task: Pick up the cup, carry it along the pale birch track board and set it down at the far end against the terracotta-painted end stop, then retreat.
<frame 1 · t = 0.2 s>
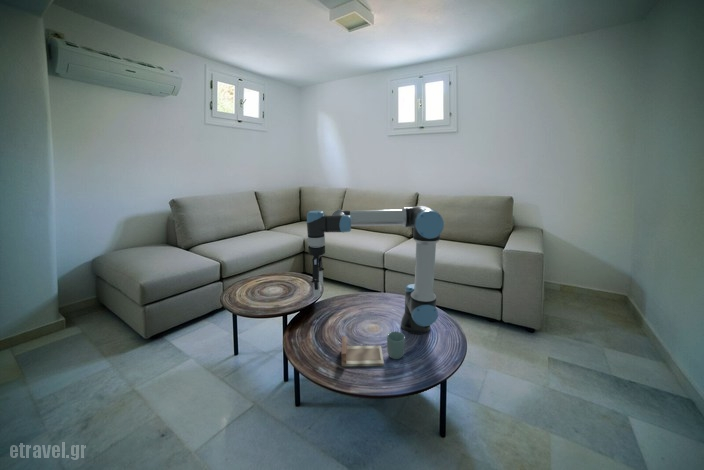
hand: (318, 289, 140), 28 cm above the table, fingers open, 13 cm apart
track: (362, 356, 135), on the table
cup: (395, 356, 135), on the table
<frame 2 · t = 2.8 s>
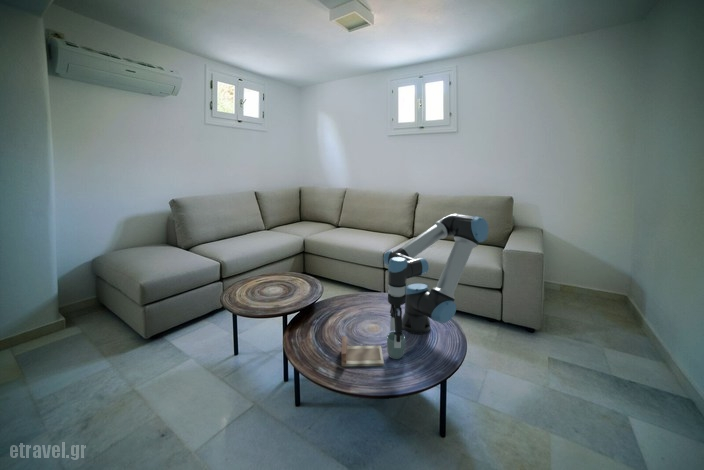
hand: (395, 338, 133), 9 cm above the table, fingers open, 13 cm apart
nothing on the table moved.
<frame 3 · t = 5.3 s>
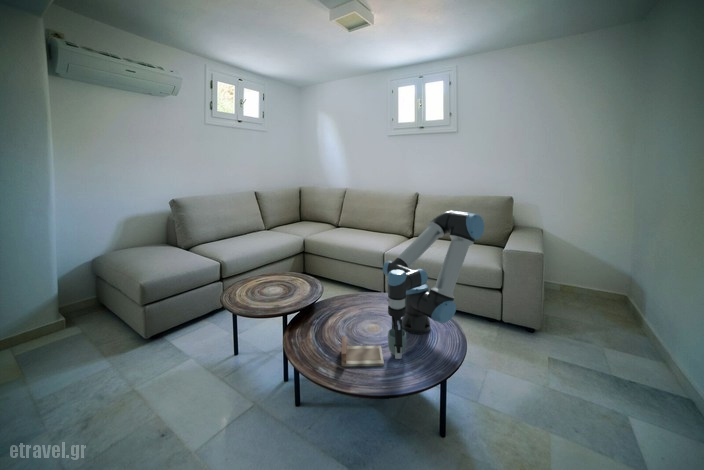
hand: (396, 351, 135), 2 cm above the table, fingers closed on cup, 8 cm apart
cup: (397, 352, 135), point 1 cm above the table, touching gripper
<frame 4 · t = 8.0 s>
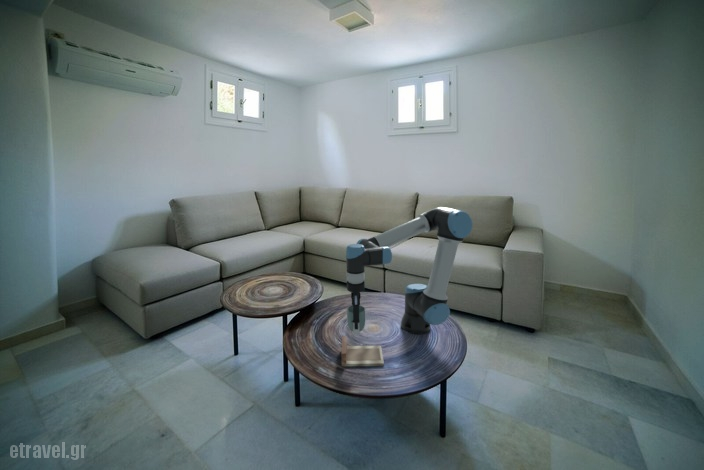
hand: (356, 329, 132), 14 cm above the table, fingers closed on cup, 8 cm apart
cup: (356, 330, 132), point 13 cm above the table, touching gripper
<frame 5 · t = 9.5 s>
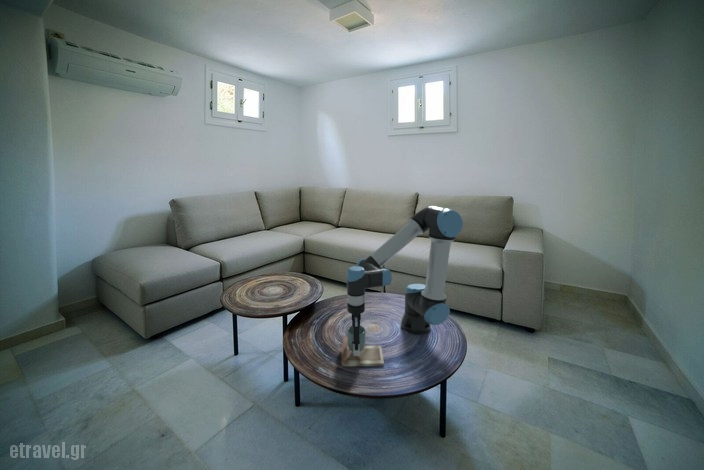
hand: (356, 349, 134), 4 cm above the table, fingers closed on cup, 8 cm apart
cup: (356, 350, 134), point 3 cm above the table, touching gripper
when the fingers open (2 cm above the table, at t = 10.7 s): cup stays where it is, resting on track.
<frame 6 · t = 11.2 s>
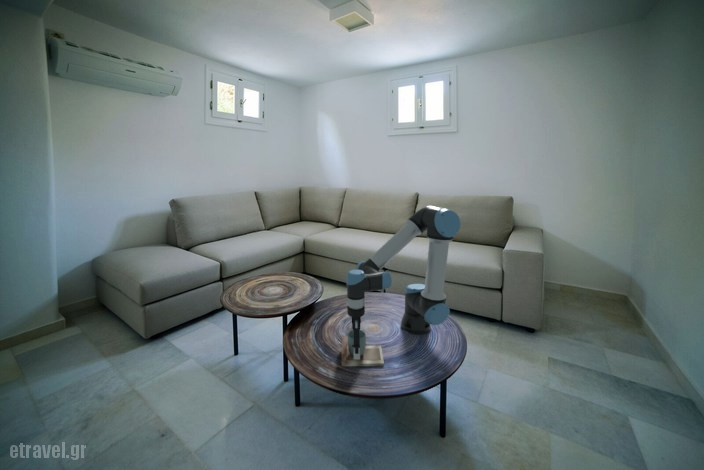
hand: (356, 349, 134), 4 cm above the table, fingers open, 13 cm apart
cup: (356, 354, 135), point 1 cm above the table, touching track
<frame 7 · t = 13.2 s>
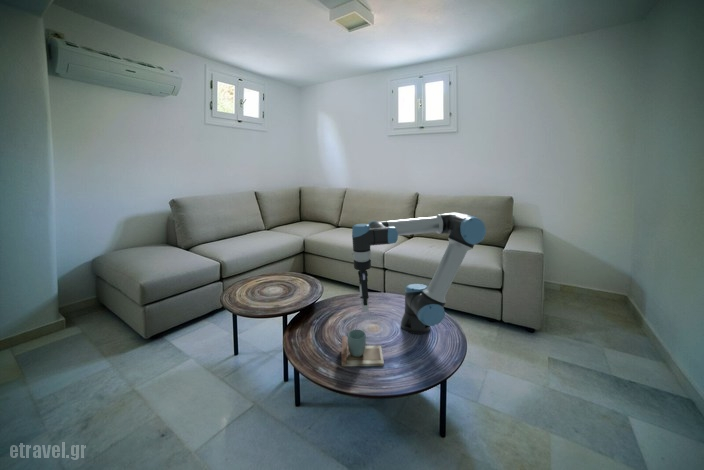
hand: (364, 304, 136), 22 cm above the table, fingers open, 13 cm apart
nothing on the table moved.
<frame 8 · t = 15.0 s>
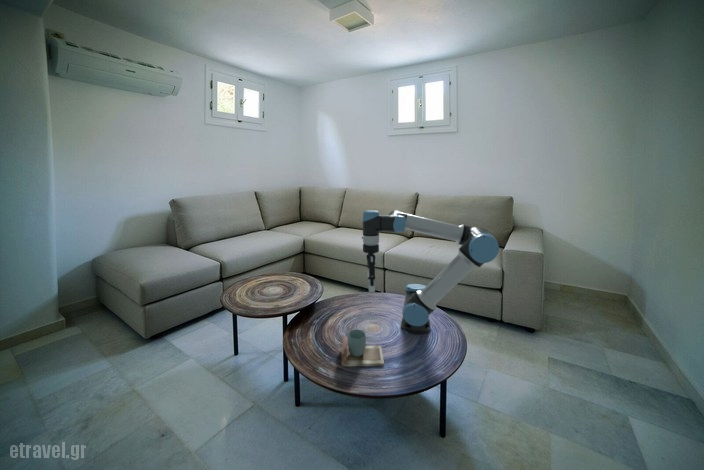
hand: (370, 286, 146), 27 cm above the table, fingers open, 13 cm apart
nothing on the table moved.
at the end: cup inside the target area (1.1 cm from its centre), point 1.1 cm above the table; cup tilted 0°; the gripper is holding nothing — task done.
